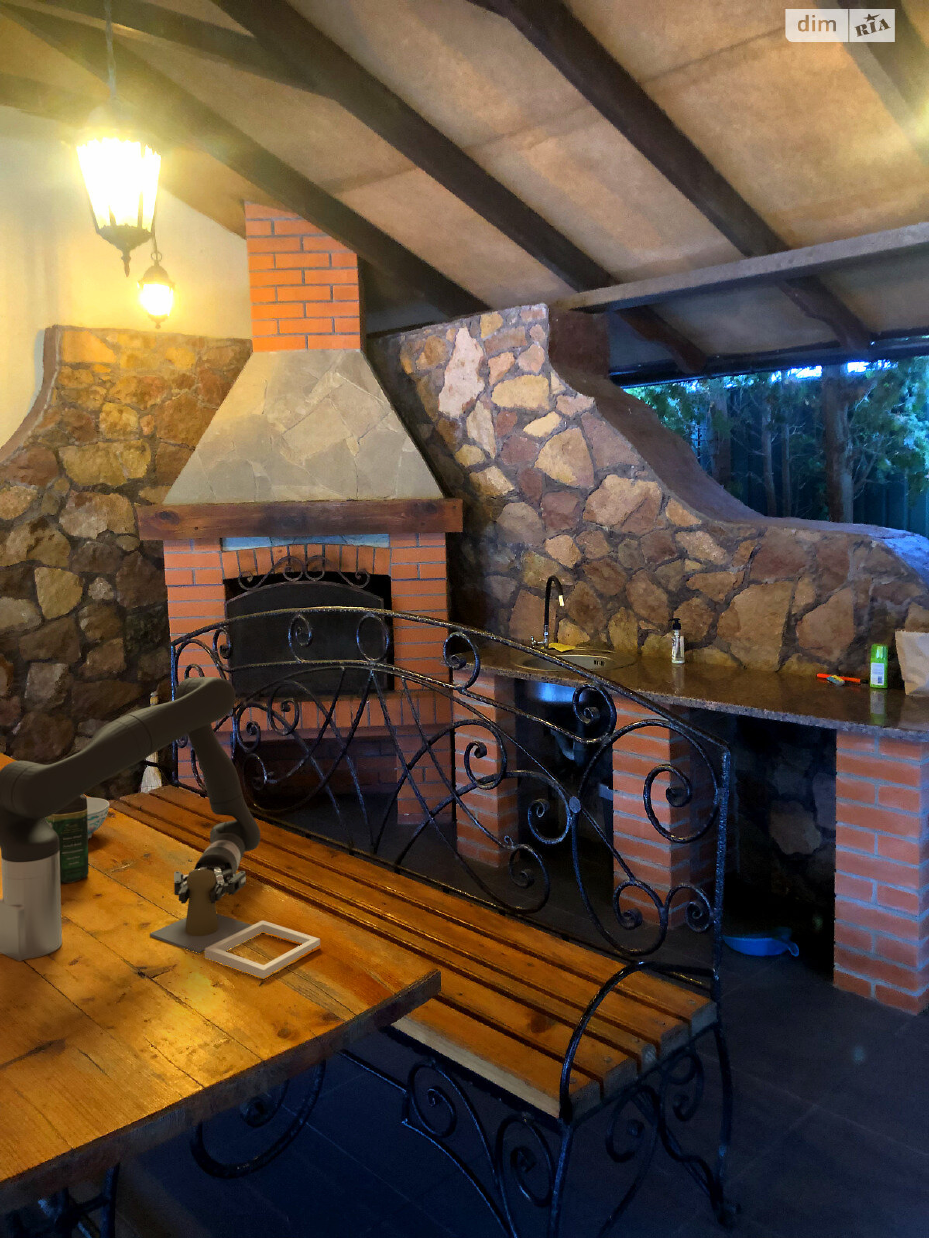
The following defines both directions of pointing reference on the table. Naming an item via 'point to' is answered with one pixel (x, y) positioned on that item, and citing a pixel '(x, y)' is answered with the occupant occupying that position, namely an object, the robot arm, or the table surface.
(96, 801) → the chinaware
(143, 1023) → the table surface
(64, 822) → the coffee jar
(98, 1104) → the table surface
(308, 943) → the white square frame
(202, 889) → the cork
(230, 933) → the mat
